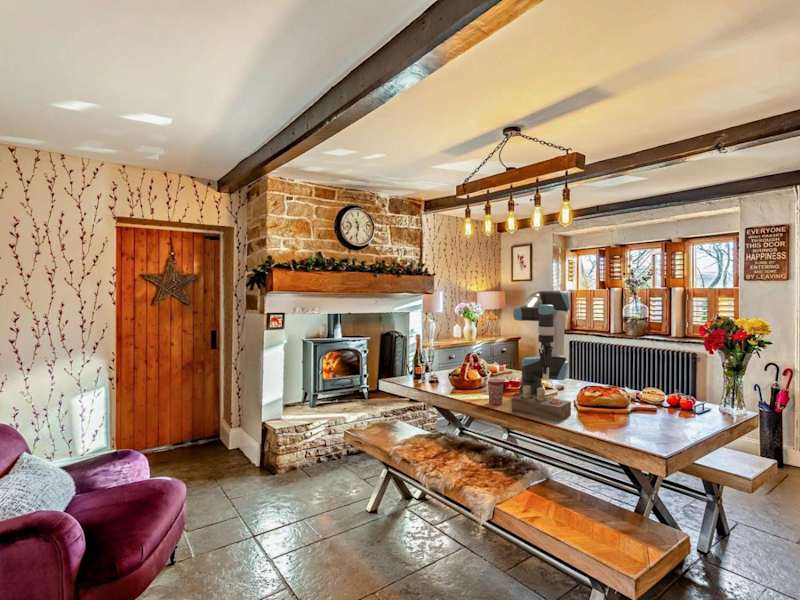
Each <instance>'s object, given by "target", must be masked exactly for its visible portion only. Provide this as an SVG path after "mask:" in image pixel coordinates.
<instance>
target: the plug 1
mask: <svg viewBox="0 0 800 600" xmlns="http://www.w3.org/2000/svg"><path fill="white" fill-rule="evenodd" d="M530 393H531V386H523V398H525V399H530Z"/></svg>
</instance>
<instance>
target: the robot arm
mask: <svg viewBox="0 0 800 600" xmlns="http://www.w3.org/2000/svg"><path fill="white" fill-rule="evenodd" d="M570 310H571V301H570V295H569V292H568V291H566V290H539V291H536V292H533V293H531V294H530V295H528V296H527V297H526V300H525V302H524V303H523V305H522V306H515V307H514V308H513V312H512V313H513V315H512V317H513V319H514V321H519V322H521V321H522V322H524V321H526V322H528V321H529V322H538V326H537V330H538V332H537V333H538V336H537V337H538V338H537V341H538V342H539V343H541V345H540V348H539V349H538V353H539V356H536V355H535V356H528V357H524V358H523V359H522V360H521V383H520V387H519V388H518V396H519V395H522V394H523V386H531V393H530V395H535V396H537V388H544V385H543V383H542V381H543V380H544V381H549V380H550V381H551V380H553V381H565V380H566V379H567V376H568V373H569V368H570V367H569V365H570V364H569V363H570V362H569V360H567V356H566V355H564V354H565V353H564V352H565V320H566V318H565V317H566V315H567V314H568V312H569V311H570Z"/></svg>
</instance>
